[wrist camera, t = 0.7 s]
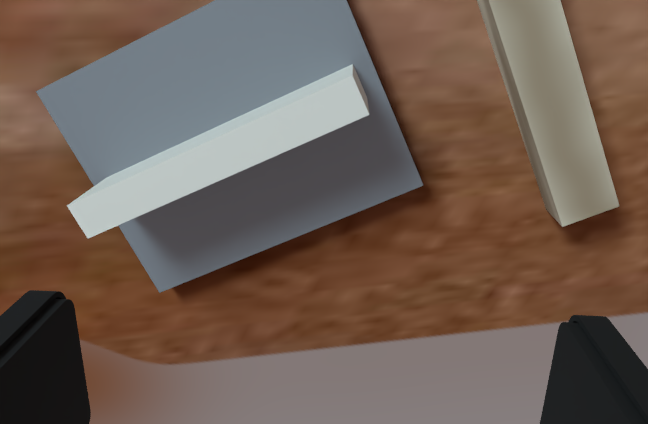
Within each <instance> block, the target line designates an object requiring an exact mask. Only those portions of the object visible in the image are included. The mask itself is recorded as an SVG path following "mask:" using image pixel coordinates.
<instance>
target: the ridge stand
mask: <svg viewBox="0 0 648 424" xmlns="http://www.w3.org/2000/svg"><path fill="white" fill-rule="evenodd" d="M36 92H37V94H38V96H39V97H40V99H41V100H42V102H43V104H44V105H45V107H46V109H47V110H48V112H49V113H50V115H51V117H52V118H53V120H54V122H55V123H56V125H57V126H58V128H59V130H60V131H61V133H62V135H63V136H64V138H65V139H66V141H67V143H68V144H69V146H70V148H71V149H72V151H73V153H74V154H75V156H76V157H77V159H78V161H79V162H80V164H81V166H82V167H83V169H84V170H85V172H86V174H87V175H88V177H89V179H90V180H91V182H92V183H93V185H94V187H92V188H91V189H90V190H88V191H87V192H85V193H84V194H83V195H81V196H80V197H78V198H77V199H76V200H74V201H73V202H71V203H70V204H69V205H67V207H68V208H69V210H70V211H71V213H72V215H73V216H74V218H75V219H76V221H77V222H78V224H79V226H80V227H81V229H82V230H83V232H84V233H85V235H86V236H87V238H90V237H93V236H95V235H97V234H99V233H102V232H104V231H106V230H109V229H111V228H113V227H115V226H119V227H120V229H121V231H122V232H123V234H124V236H125V237H126V239H127V240H128V242H129V244H130V245H131V247H132V249H133V250H134V252H135V253H136V255H137V257H138V258H139V260H140V262H141V263H142V265H143V267H144V268H145V270H146V271H147V273H148V275H149V276H150V278H151V280H152V281H153V283H154V284H155V286H156V288H157V289H158V291H159V293H160V292H163V291H165V290H168V289H170V288H173V287H175V286H177V285H180V284H182V283H185V282H187V281H190V280H192V279H195V278H197V277H200V276H202V275H204V274H207V273H209V272H212V271H214V270H217V269H219V268H222V267H224V266H227V265H229V264H232V263H234V262H236V261H239V260H241V259H244V258H246V257H249V256H251V255H254V254H256V253H259V252H261V251H264V250H266V249H268V248H271V247H273V246H276V245H278V244H281V243H283V242H286V241H288V240H291V239H293V238H296V237H298V236H300V235H303V234H305V233H308V232H310V231H313V230H315V229H318V228H320V227H323V226H325V225H327V224H330V223H332V222H335V221H337V220H340V219H342V218H345V217H347V216H350V215H352V214H355V213H357V212H359V211H362V210H364V209H367V208H369V207H372V206H374V205H377V204H379V203H382V202H384V201H387V200H389V199H391V198H394V197H396V196H399V195H401V194H404V193H406V192H409V191H411V190H414V189H416V188H418V187H421V186H423V183H422V180H421V178H420V175H419V173H418V170H417V168H416V166H415V163H414V161H413V158H412V156H411V154H410V151H409V149H408V146H407V144H406V142H405V139H404V137H403V134H402V132H401V129H400V127H399V125H398V122H397V120H396V117H395V115H394V113H393V110H392V108H391V105H390V103H389V101H388V98H387V96H386V93H385V91H384V89H383V86H382V84H381V81H380V79H379V77H378V74H377V72H376V69H375V67H374V64H373V62H372V60H371V57H370V55H369V52H368V50H367V48H366V45H365V43H364V40H363V38H362V36H361V33H360V31H359V28H358V26H357V24H356V21H355V19H354V16H353V14H352V12H351V9H350V7H349V4H348V2H347V0H215V1H213V2H211V3H209V4H207V5H205V6H203V7H201V8H199V9H197V10H195V11H193V12H191V13H189V14H187V15H185V16H183V17H182V18H180V19H178V20H176V21H174V22H172V23H170V24H168V25H166V26H164V27H162V28H160V29H158V30H156V31H154V32H152V33H150V34H148V35H146V36H144V37H142V38H140V39H138V40H136V41H134V42H132V43H130V44H128V45H126V46H125V47H123V48H121V49H119V50H117V51H115V52H113V53H111V54H109V55H107V56H105V57H103V58H101V59H99V60H97V61H95V62H93V63H91V64H89V65H87V66H85V67H83V68H81V69H79V70H77V71H75V72H73V73H71V74H70V75H68V76H66V77H64V78H62V79H60V80H58V81H56V82H54V83H52V84H50V85H48V86H46V87H44V88H42V89H40V90H38V91H36Z"/></svg>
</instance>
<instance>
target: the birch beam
mask: <svg viewBox="0 0 648 424" xmlns="http://www.w3.org/2000/svg"><path fill="white" fill-rule="evenodd" d="M477 2H478V5H479V8H480V11H481V14H482V17H483V20H484V23H485V26H486V29H487V32H488V35H489V38H490V41H491V44H492V47H493V50H494V53H495V56H496V59H497V62H498V65H499V68H500V71H501V75H502V78H503V81H504V84H505V87H506V90H507V93H508V96H509V99H510V102H511V105H512V108H513V111H514V114H515V117H516V120H517V123H518V126H519V129H520V132H521V135H522V138H523V141H524V144H525V147H526V150H527V153H528V156H529V159H530V162H531V165H532V168H533V171H534V174H535V177H536V180H537V183H538V186H539V189H540V192H541V195H542V198H543V201H544V204H545V207H546V210H547V211H548V212H549V213H550V214H551V215H552V216H553V217H554V218H555V220H556V221H557V222H558V223H559V224H560V225H561V226H562V227H564V226H566V225H569V224H572V223H575V222H578V221H580V220H583V219H586V218H589V217H591V216H594V215H597V214H600V213H602V212H605V211H608V210H611V209H613V208H616V207H619V203H618V200H617V196H616V193H615V189H614V186H613V182H612V179H611V175H610V172H609V168H608V165H607V161H606V158H605V154H604V151H603V147H602V144H601V140H600V137H599V133H598V130H597V126H596V123H595V119H594V116H593V112H592V109H591V105H590V102H589V98H588V95H587V91H586V88H585V84H584V81H583V77H582V74H581V70H580V67H579V63H578V60H577V56H576V53H575V49H574V46H573V42H572V39H571V35H570V32H569V28H568V25H567V21H566V18H565V14H564V11H563V7H562V4H561V0H477Z"/></svg>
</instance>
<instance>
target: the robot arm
mask: <svg viewBox="0 0 648 424" xmlns="http://www.w3.org/2000/svg"><path fill="white" fill-rule="evenodd" d="M89 421H90V405H89V399H88V392H87V386H86V380H85V373H84V366H83V360H82V353H81V347H80V341H79V334H78V328H77V321H76V315H75V308H74V304H73V302H72V301H71V300H69V299H66V297H65V296H64V294H63V293H61V292H56V291H34V290H33V291H28V292H27V293H25V294H24V295H23V296H22V297H21V298H20V299H19V300H18V301H17V302H15V303H14V304H13V305H12V306H11V307H10V308H9V309H8V310H7V311H5V312H4V313H3V314H2V315H1V316H0V424H89ZM540 424H648V369H647V368H646V366H645V365H644V364H643V363H642V361H641V360H640V359H639V358H638V356H637V355H636V354H635V352H634V351H633V350H632V348H631V347H630V346H629V345H628V343H627V342H626V341H625V339H624V338H623V337H622V336H621V334H620V333H619V332H618V331H617V329H616V328H615V327H614V325H613V324H612V323H611V322H610V320H609V319H608V318H607V317H603V316H583V315H573V316H572V317H571V318H570V320H569V322H563V323H561V324H560V326H559V330H558V334H557V340H556V345H555V350H554V355H553V360H552V366H551V370H550V375H549V380H548V385H547V390H546V396H545V401H544V406H543V411H542V416H541V421H540Z"/></svg>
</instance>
